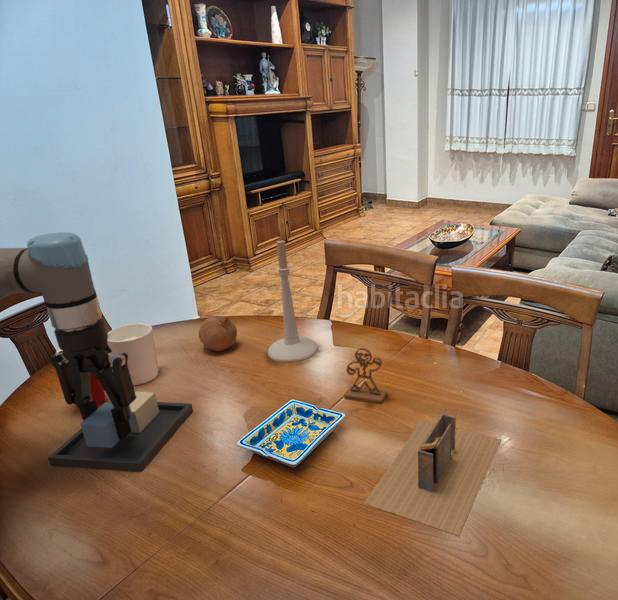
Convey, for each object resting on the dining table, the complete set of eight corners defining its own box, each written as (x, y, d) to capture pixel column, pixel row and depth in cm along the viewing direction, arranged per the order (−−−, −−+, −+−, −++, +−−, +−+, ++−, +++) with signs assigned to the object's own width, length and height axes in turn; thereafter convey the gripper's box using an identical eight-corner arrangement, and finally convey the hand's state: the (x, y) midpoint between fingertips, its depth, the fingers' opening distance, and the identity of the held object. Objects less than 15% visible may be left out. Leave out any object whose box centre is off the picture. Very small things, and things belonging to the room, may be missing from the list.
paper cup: (105, 390, 118) (89, 336, 112) (116, 403, 113) (100, 347, 107) (66, 404, 113) (48, 348, 107) (76, 418, 108) (57, 360, 102)
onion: (236, 356, 138) (248, 327, 134) (204, 361, 131) (215, 330, 127) (220, 335, 143) (231, 306, 139) (188, 338, 136) (198, 307, 132)
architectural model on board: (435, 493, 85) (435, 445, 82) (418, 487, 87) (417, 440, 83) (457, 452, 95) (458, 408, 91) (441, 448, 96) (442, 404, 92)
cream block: (117, 431, 102) (111, 410, 100) (137, 411, 109) (132, 391, 107) (140, 432, 102) (134, 411, 100) (159, 412, 108) (154, 392, 106)
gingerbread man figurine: (343, 398, 113) (340, 350, 108) (350, 389, 116) (347, 341, 111) (382, 404, 110) (379, 354, 106) (387, 394, 114) (385, 346, 109)
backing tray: (50, 465, 94) (47, 457, 93) (115, 406, 112) (113, 399, 111) (141, 471, 92) (139, 463, 91) (193, 410, 109) (191, 403, 109)
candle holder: (150, 387, 119) (139, 341, 114) (109, 387, 119) (96, 341, 114) (169, 366, 128) (159, 322, 123) (130, 366, 128) (119, 323, 123)
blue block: (87, 446, 94) (79, 423, 92) (111, 423, 101) (105, 402, 99) (112, 448, 93) (105, 425, 92) (134, 425, 100) (129, 403, 98)
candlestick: (271, 341, 139) (256, 234, 128) (318, 337, 141) (308, 231, 129) (264, 364, 128) (248, 248, 116) (316, 360, 129) (305, 245, 117)
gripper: (140, 315, 90) (166, 424, 99) (47, 313, 93) (81, 420, 101) (113, 333, 84) (144, 449, 92) (13, 331, 86) (53, 444, 95)
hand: (111, 434), depth 97 cm, fingers closed on blue block, 5 cm apart
